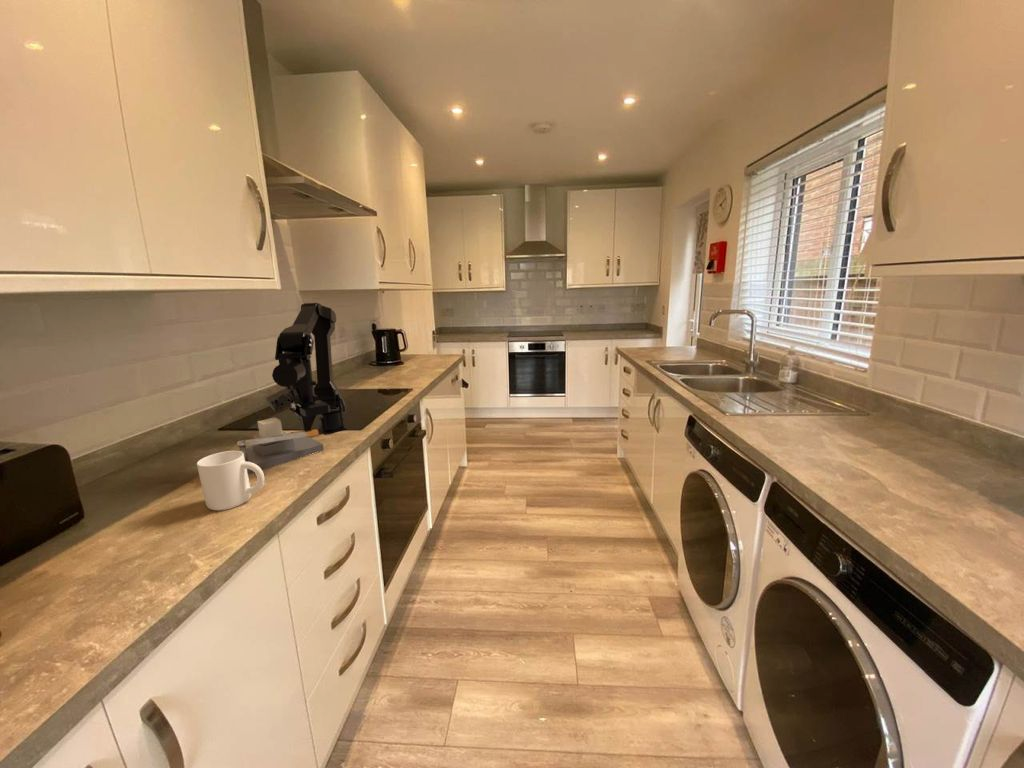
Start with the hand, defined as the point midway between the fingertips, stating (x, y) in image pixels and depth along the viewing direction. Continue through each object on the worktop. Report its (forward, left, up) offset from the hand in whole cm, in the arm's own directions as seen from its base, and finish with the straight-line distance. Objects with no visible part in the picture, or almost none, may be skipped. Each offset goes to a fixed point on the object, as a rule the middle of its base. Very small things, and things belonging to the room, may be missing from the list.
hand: (307, 432), depth 113 cm
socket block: (+6, -8, -6) cm, 12 cm away
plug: (+6, -8, -4) cm, 11 cm away
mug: (+21, +14, -7) cm, 26 cm away
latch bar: (+7, -2, 0) cm, 7 cm away
